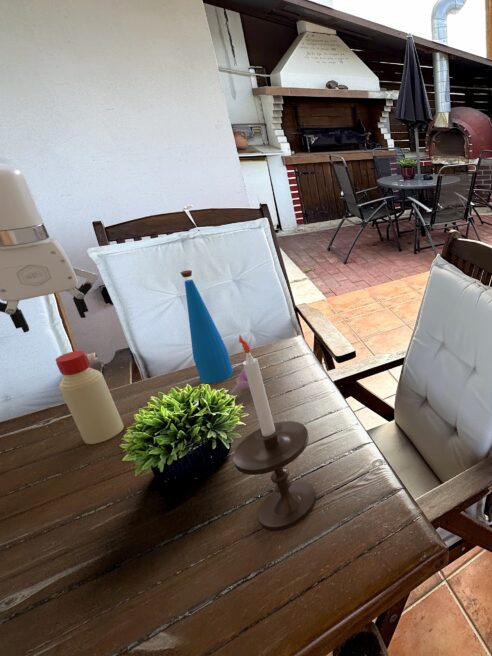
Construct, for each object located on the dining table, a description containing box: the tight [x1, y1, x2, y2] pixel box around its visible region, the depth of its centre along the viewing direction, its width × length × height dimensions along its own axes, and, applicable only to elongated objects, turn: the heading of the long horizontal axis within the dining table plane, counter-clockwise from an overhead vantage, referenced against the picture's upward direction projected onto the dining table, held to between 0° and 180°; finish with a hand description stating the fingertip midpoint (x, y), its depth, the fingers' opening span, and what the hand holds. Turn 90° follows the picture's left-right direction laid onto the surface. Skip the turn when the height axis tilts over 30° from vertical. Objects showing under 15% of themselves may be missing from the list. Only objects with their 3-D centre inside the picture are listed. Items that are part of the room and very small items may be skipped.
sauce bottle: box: [58, 367, 125, 445], centre depth 85 cm, size 6×6×20 cm
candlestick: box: [232, 334, 317, 532], centre depth 66 cm, size 11×11×35 cm
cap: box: [55, 350, 91, 376], centre depth 82 cm, size 4×4×3 cm
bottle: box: [180, 269, 234, 384], centre depth 104 cm, size 7×7×30 cm
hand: (55, 322), depth 79 cm, fingers open, 7 cm apart
